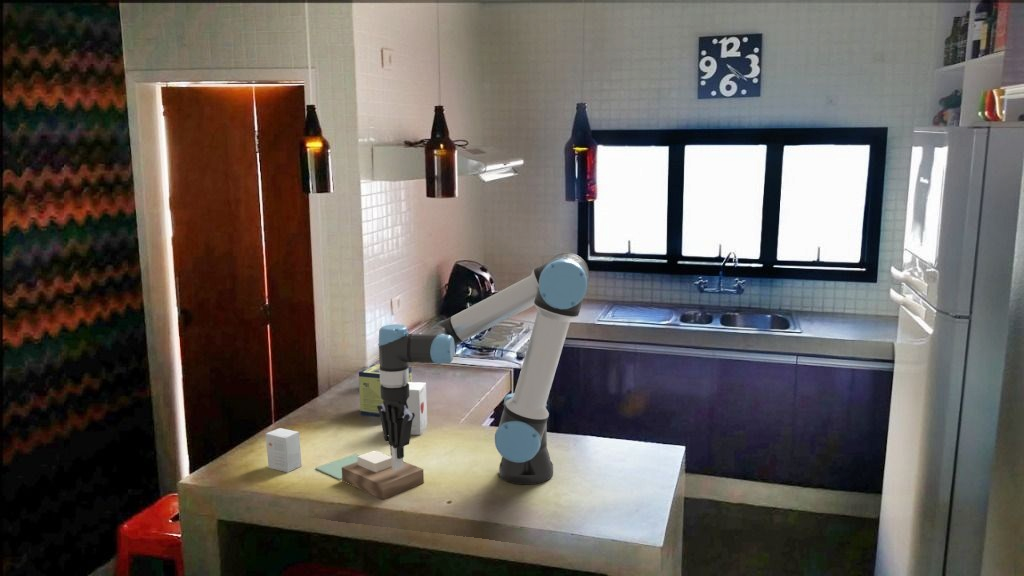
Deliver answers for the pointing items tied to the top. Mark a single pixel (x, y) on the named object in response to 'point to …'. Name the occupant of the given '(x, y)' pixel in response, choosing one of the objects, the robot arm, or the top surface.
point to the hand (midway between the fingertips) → (397, 468)
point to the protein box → (372, 390)
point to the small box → (283, 449)
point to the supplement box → (417, 406)
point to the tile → (375, 461)
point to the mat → (338, 466)
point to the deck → (383, 479)
